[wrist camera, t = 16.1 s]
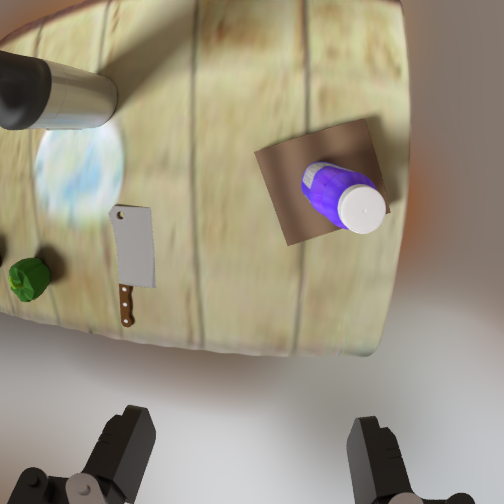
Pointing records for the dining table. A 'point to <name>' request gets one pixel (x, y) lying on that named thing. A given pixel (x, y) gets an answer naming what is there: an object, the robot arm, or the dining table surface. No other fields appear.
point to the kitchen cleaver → (133, 253)
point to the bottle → (344, 197)
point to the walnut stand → (296, 162)
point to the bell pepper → (29, 278)
